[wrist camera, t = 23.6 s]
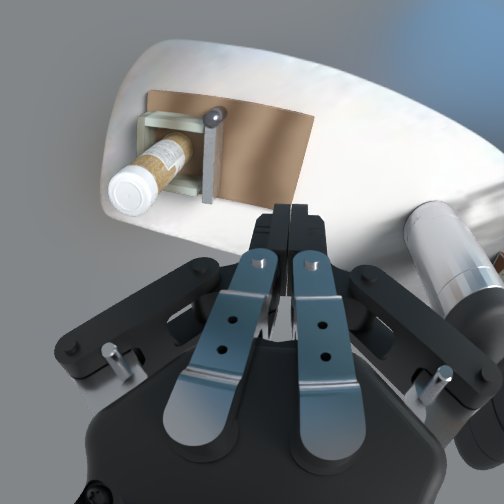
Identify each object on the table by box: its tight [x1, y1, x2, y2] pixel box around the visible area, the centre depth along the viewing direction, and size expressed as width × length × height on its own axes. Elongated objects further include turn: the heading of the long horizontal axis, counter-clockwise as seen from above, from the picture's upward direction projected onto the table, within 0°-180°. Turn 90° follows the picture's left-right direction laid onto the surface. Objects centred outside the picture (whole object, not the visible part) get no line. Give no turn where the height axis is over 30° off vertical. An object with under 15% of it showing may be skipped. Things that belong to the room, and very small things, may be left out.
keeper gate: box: [202, 106, 228, 204], centre depth 33 cm, size 11×2×4 cm, turn 174°
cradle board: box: [136, 90, 314, 209], centre depth 34 cm, size 20×13×4 cm, turn 80°
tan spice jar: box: [108, 132, 193, 216], centre depth 30 cm, size 5×5×13 cm
